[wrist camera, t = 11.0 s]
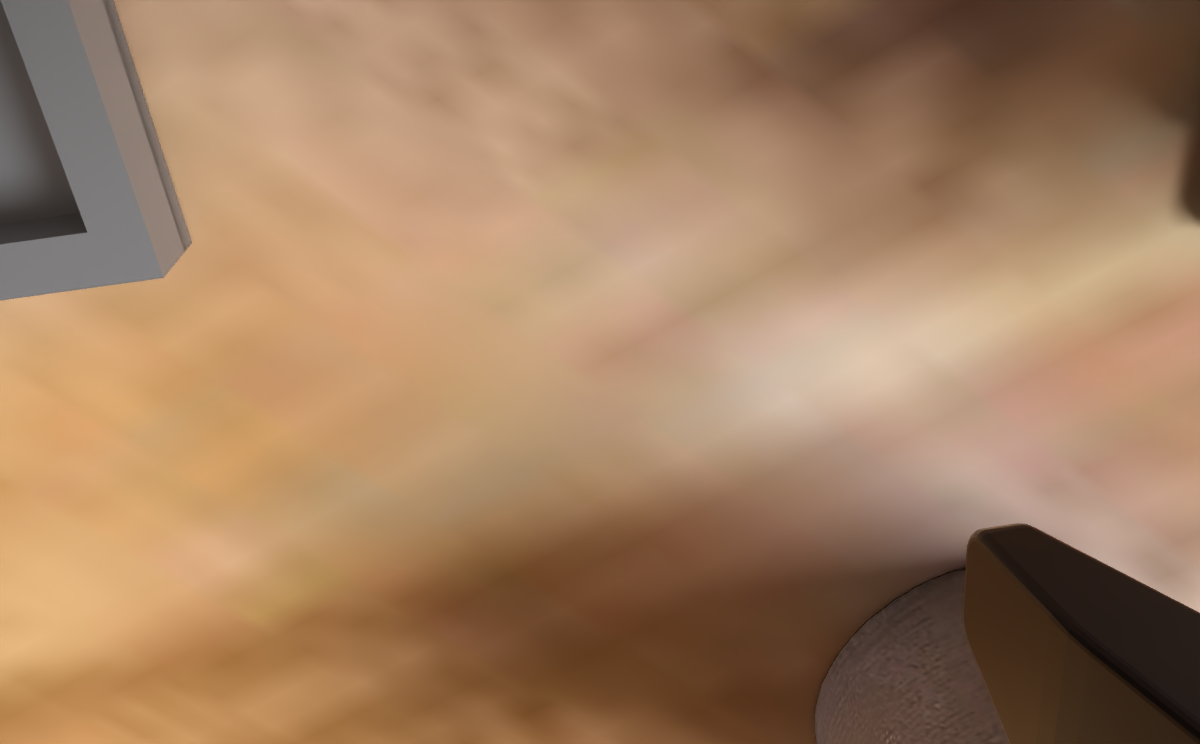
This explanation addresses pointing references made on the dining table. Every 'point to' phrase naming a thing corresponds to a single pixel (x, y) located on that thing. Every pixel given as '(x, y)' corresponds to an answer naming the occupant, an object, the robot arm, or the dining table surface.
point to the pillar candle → (910, 677)
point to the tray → (78, 155)
